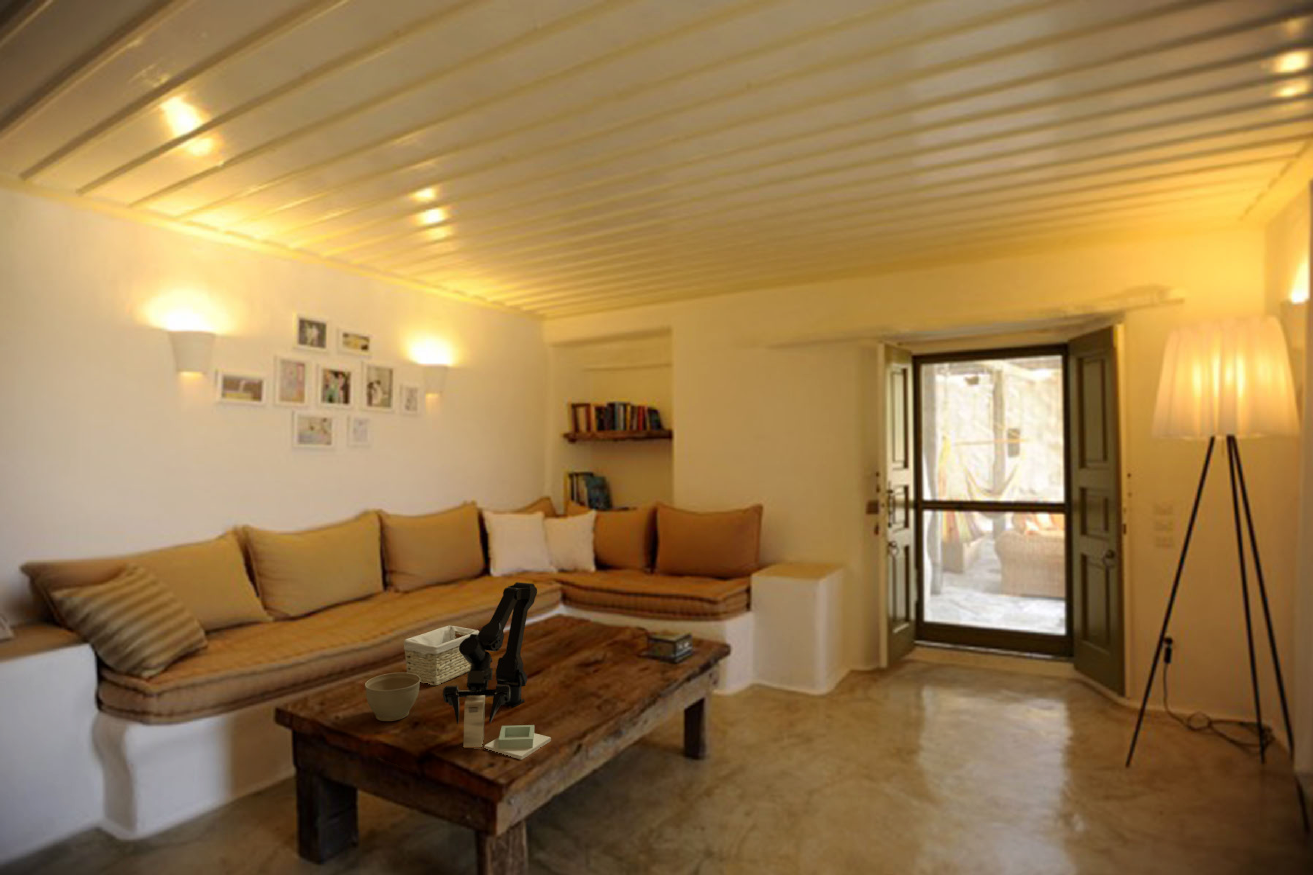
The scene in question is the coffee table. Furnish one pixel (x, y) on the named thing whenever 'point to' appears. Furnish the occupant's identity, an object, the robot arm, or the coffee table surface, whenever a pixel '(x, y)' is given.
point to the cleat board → (519, 751)
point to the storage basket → (437, 654)
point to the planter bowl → (392, 695)
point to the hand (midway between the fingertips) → (473, 722)
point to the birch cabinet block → (474, 721)
